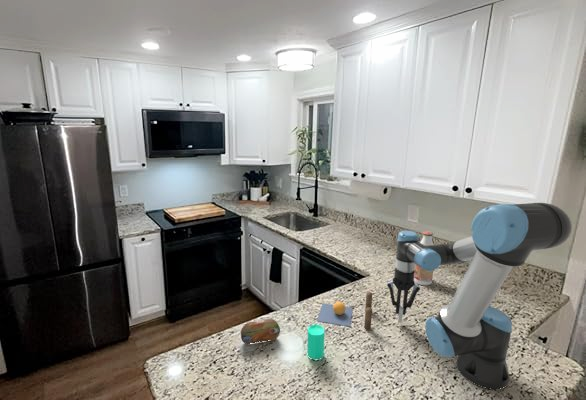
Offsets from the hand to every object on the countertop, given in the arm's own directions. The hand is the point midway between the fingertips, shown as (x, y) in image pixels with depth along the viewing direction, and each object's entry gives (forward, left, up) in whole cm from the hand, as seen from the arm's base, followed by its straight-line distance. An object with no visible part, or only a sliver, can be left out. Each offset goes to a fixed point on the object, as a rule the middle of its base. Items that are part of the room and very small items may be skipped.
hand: (399, 320), depth 128 cm
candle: (-27, +31, -2) cm, 41 cm away
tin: (-25, +53, -2) cm, 59 cm away
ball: (+1, +25, +1) cm, 26 cm away
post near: (-6, +13, -2) cm, 15 cm away
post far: (+6, +13, -2) cm, 15 cm away
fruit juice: (+43, -15, -2) cm, 46 cm away
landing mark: (0, +27, -2) cm, 27 cm away
